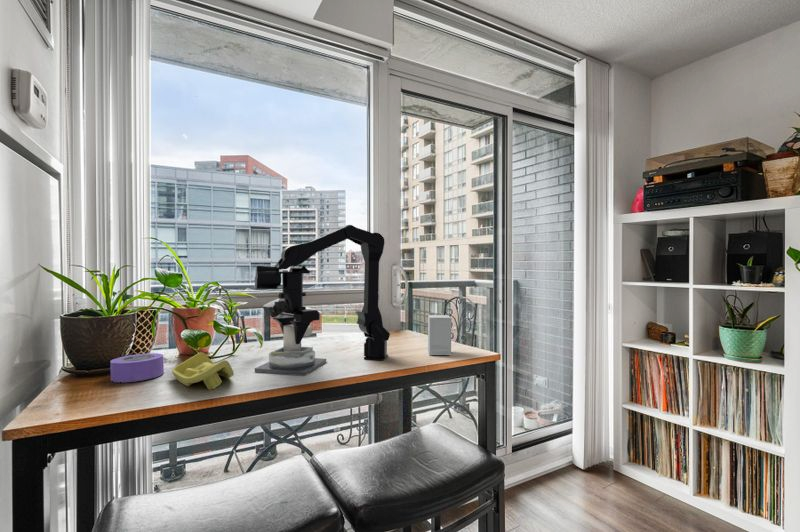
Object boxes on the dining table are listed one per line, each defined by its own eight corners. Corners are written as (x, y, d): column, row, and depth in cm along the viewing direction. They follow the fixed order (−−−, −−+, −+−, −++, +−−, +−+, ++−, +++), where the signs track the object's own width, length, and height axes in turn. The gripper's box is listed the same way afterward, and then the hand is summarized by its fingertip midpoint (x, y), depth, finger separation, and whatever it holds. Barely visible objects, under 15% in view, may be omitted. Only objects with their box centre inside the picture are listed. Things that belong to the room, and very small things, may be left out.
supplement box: (451, 356, 133) (451, 317, 133) (428, 356, 133) (429, 317, 133) (449, 351, 140) (449, 314, 140) (427, 351, 140) (427, 314, 140)
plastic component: (169, 370, 105) (206, 348, 111) (183, 393, 107) (219, 370, 113) (189, 381, 90) (230, 355, 96) (205, 408, 92) (244, 381, 98)
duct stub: (326, 362, 124) (326, 345, 124) (305, 375, 109) (305, 356, 109) (281, 359, 127) (281, 343, 127) (254, 372, 112) (254, 354, 112)
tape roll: (99, 383, 101) (99, 363, 101) (129, 371, 113) (129, 353, 113) (147, 382, 101) (147, 362, 101) (172, 370, 113) (172, 352, 113)
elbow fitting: (289, 352, 114) (289, 327, 114) (280, 349, 118) (280, 325, 117) (314, 347, 120) (314, 324, 120) (304, 345, 124) (304, 322, 124)
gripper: (250, 288, 118) (250, 342, 118) (286, 292, 105) (286, 352, 106) (284, 287, 126) (283, 337, 126) (321, 290, 114) (320, 345, 114)
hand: (292, 342), depth 118 cm, fingers closed on elbow fitting, 5 cm apart
